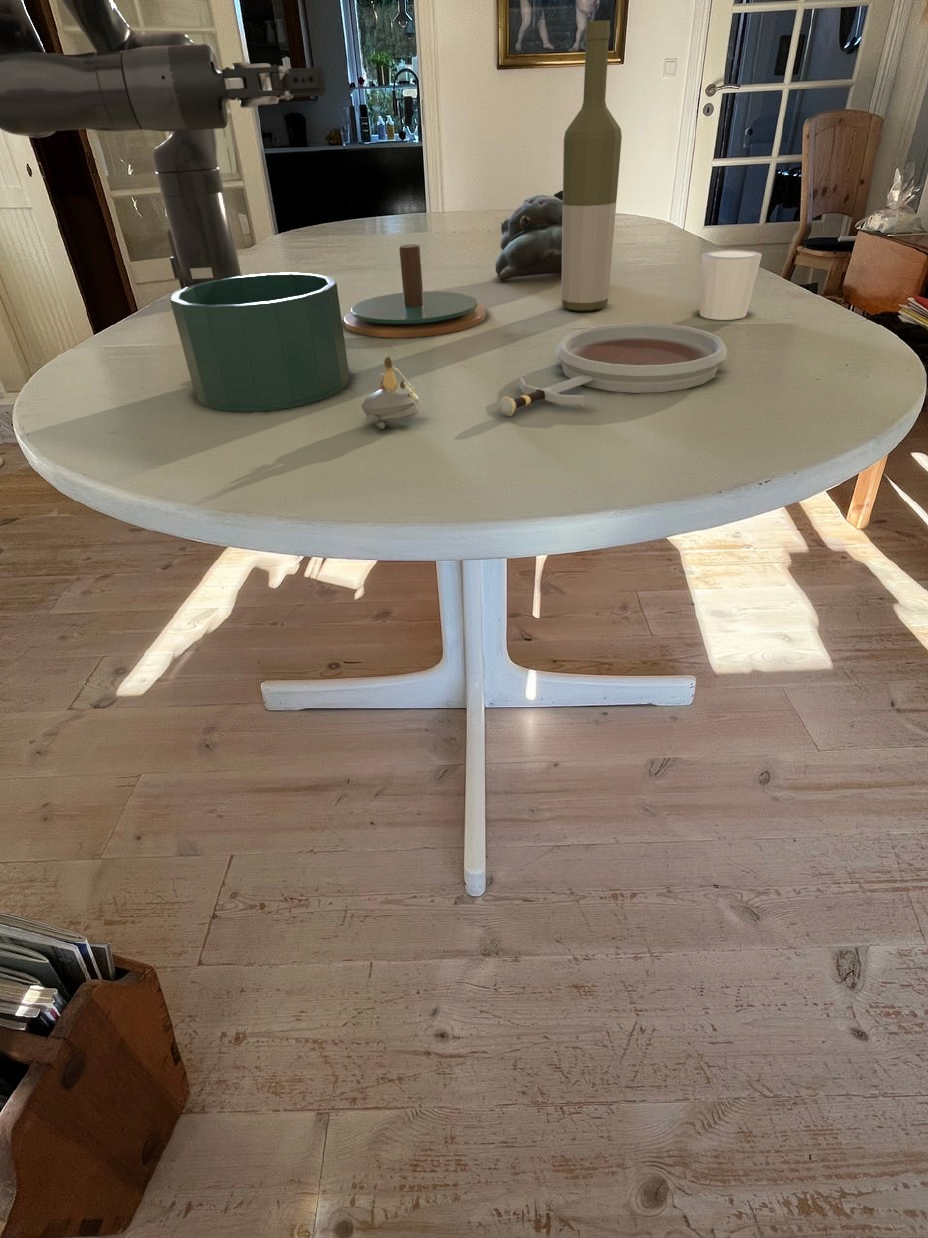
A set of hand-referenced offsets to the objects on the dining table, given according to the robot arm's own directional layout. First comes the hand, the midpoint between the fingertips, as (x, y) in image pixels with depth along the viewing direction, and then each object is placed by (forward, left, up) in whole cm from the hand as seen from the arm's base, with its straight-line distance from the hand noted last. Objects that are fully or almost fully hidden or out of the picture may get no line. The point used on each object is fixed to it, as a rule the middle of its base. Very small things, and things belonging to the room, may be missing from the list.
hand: (324, 81), depth 80 cm
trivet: (+6, +5, -26) cm, 27 cm away
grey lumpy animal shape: (+9, +36, -26) cm, 46 cm away
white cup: (+43, +20, -26) cm, 54 cm away
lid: (+6, +5, -25) cm, 26 cm away
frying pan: (+39, -11, -26) cm, 48 cm away
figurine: (+26, -29, -26) cm, 47 cm away
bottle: (+25, +18, -26) cm, 41 cm away
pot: (+8, -25, -26) cm, 37 cm away
